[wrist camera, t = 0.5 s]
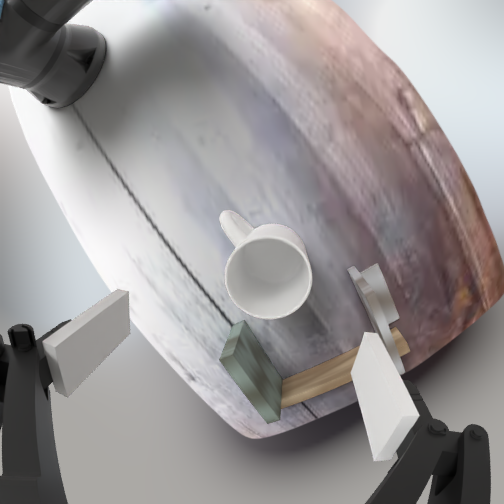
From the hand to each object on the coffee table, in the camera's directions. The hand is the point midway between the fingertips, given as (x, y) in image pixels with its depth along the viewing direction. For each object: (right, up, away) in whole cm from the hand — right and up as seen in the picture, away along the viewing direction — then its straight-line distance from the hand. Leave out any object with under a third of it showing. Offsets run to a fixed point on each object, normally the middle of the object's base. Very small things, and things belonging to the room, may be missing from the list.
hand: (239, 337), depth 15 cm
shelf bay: (+10, -7, +24) cm, 27 cm away
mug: (+2, +6, +22) cm, 23 cm away
